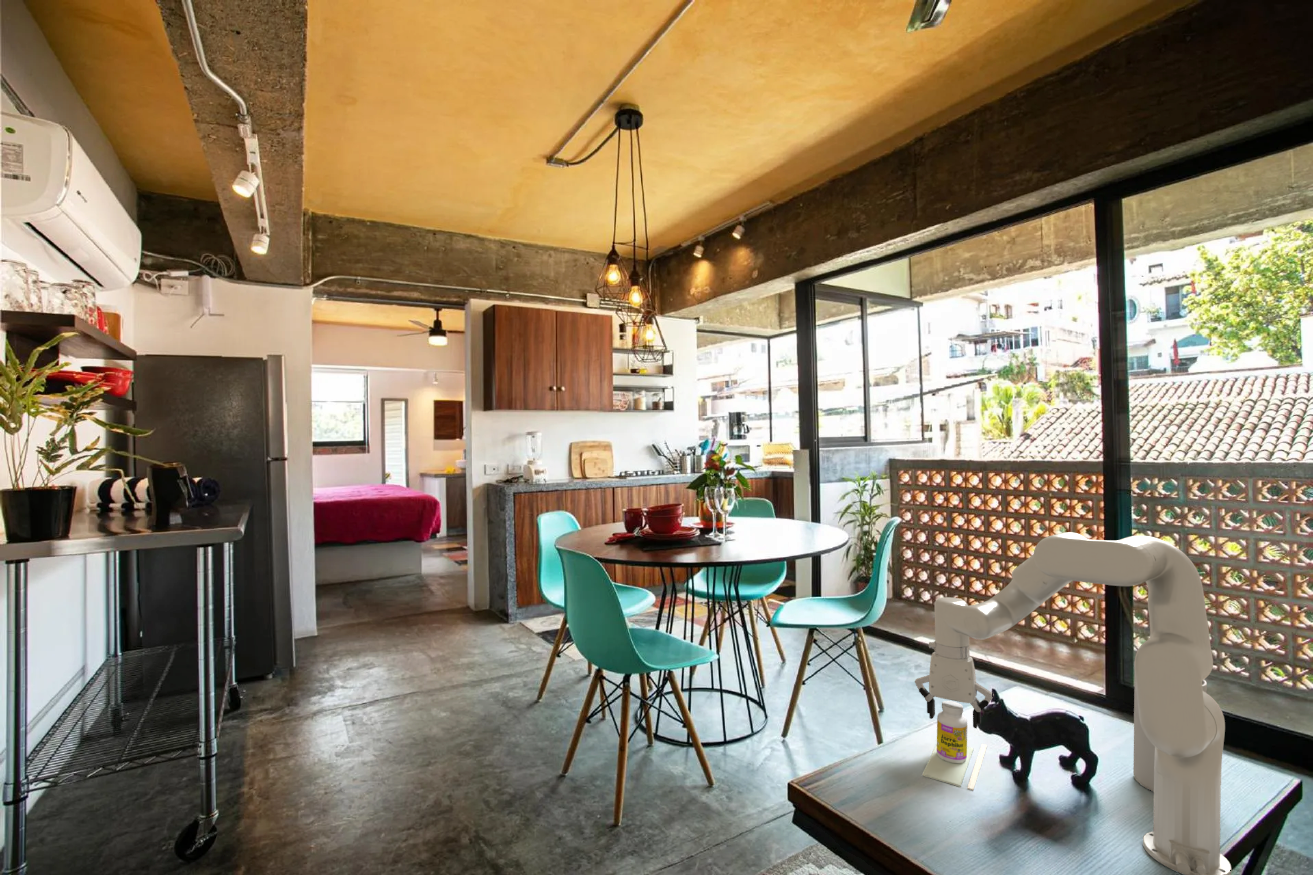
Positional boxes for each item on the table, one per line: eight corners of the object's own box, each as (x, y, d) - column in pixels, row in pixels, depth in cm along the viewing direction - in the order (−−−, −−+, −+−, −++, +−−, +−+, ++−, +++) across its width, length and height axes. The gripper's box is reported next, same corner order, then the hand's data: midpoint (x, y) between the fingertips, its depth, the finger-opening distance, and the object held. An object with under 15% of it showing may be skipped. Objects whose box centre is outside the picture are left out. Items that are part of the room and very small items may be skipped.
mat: (960, 786, 140) (960, 784, 140) (922, 775, 145) (922, 773, 145) (973, 749, 157) (973, 748, 157) (938, 740, 161) (938, 739, 161)
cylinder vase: (1178, 773, 147) (1179, 666, 146) (1220, 804, 134) (1222, 688, 134) (1120, 769, 148) (1122, 664, 148) (1157, 800, 135) (1159, 685, 135)
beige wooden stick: (973, 790, 139) (973, 789, 139) (967, 788, 140) (967, 787, 140) (987, 746, 159) (987, 744, 159) (981, 744, 159) (981, 743, 159)
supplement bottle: (935, 760, 151) (936, 706, 151) (937, 748, 157) (937, 696, 157) (966, 767, 148) (967, 712, 148) (967, 754, 154) (967, 702, 154)
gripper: (911, 648, 154) (912, 718, 154) (990, 661, 144) (992, 736, 144) (917, 640, 160) (919, 707, 160) (994, 652, 150) (995, 724, 150)
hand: (953, 721), depth 152 cm, fingers open, 9 cm apart
